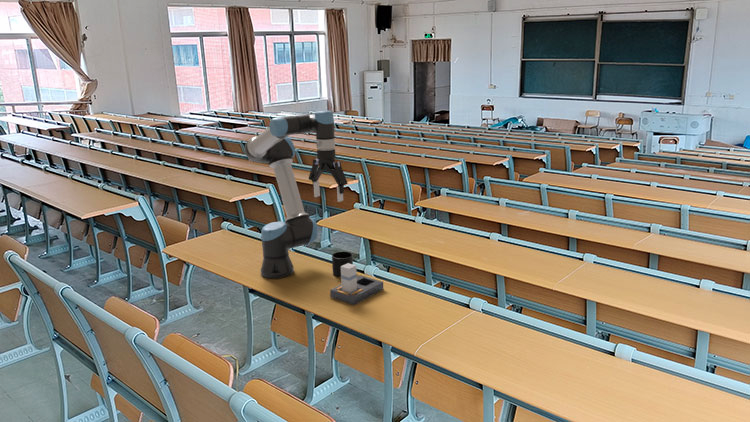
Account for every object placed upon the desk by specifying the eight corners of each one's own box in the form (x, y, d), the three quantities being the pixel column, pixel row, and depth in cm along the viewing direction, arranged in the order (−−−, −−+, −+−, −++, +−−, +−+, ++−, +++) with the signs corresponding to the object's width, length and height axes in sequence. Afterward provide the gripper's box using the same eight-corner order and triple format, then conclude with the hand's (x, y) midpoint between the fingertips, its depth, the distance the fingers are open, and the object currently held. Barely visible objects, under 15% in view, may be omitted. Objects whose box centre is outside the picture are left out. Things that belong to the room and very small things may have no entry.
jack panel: (330, 297, 230) (330, 288, 229) (360, 282, 244) (360, 274, 243) (354, 305, 222) (353, 296, 221) (383, 289, 236) (383, 281, 235)
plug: (342, 297, 229) (340, 266, 225) (349, 294, 233) (347, 263, 229) (350, 300, 227) (348, 268, 223) (357, 296, 230) (356, 265, 226)
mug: (344, 280, 246) (344, 261, 244) (328, 273, 255) (327, 255, 253) (361, 274, 252) (360, 256, 250) (344, 267, 261) (343, 249, 259)
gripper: (298, 147, 232) (301, 196, 238) (342, 153, 217) (344, 205, 222) (311, 145, 237) (314, 192, 243) (354, 150, 222) (356, 201, 228)
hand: (328, 198), depth 233 cm, fingers open, 13 cm apart
